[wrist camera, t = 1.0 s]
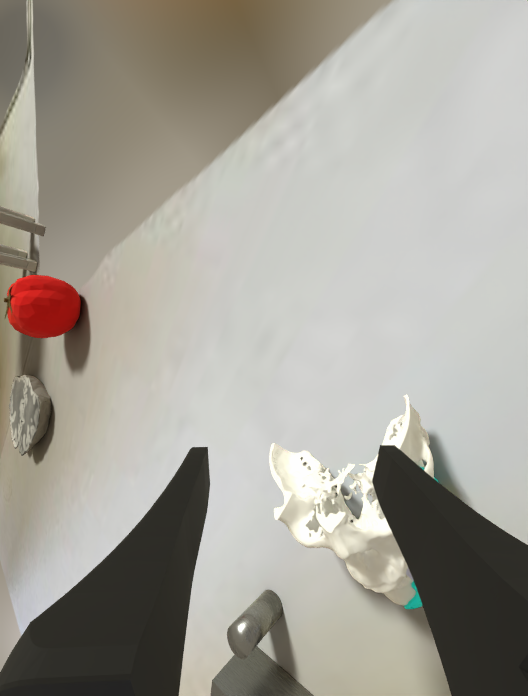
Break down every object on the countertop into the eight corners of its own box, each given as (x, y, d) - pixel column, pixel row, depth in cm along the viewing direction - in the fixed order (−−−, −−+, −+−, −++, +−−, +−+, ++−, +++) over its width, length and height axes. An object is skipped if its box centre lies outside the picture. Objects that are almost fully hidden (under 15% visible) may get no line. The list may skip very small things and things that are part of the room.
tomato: (95, 298, 54) (19, 284, 45) (77, 351, 57) (2, 348, 48) (73, 272, 61) (2, 256, 52) (58, 322, 64) (-11, 314, 55)
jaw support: (330, 617, 22) (246, 558, 19) (332, 501, 29) (271, 444, 26) (519, 619, 16) (444, 534, 13) (465, 473, 23) (407, 394, 20)
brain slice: (20, 433, 75) (5, 435, 72) (29, 367, 74) (14, 367, 71) (49, 465, 63) (31, 469, 61) (59, 387, 62) (42, 388, 60)
